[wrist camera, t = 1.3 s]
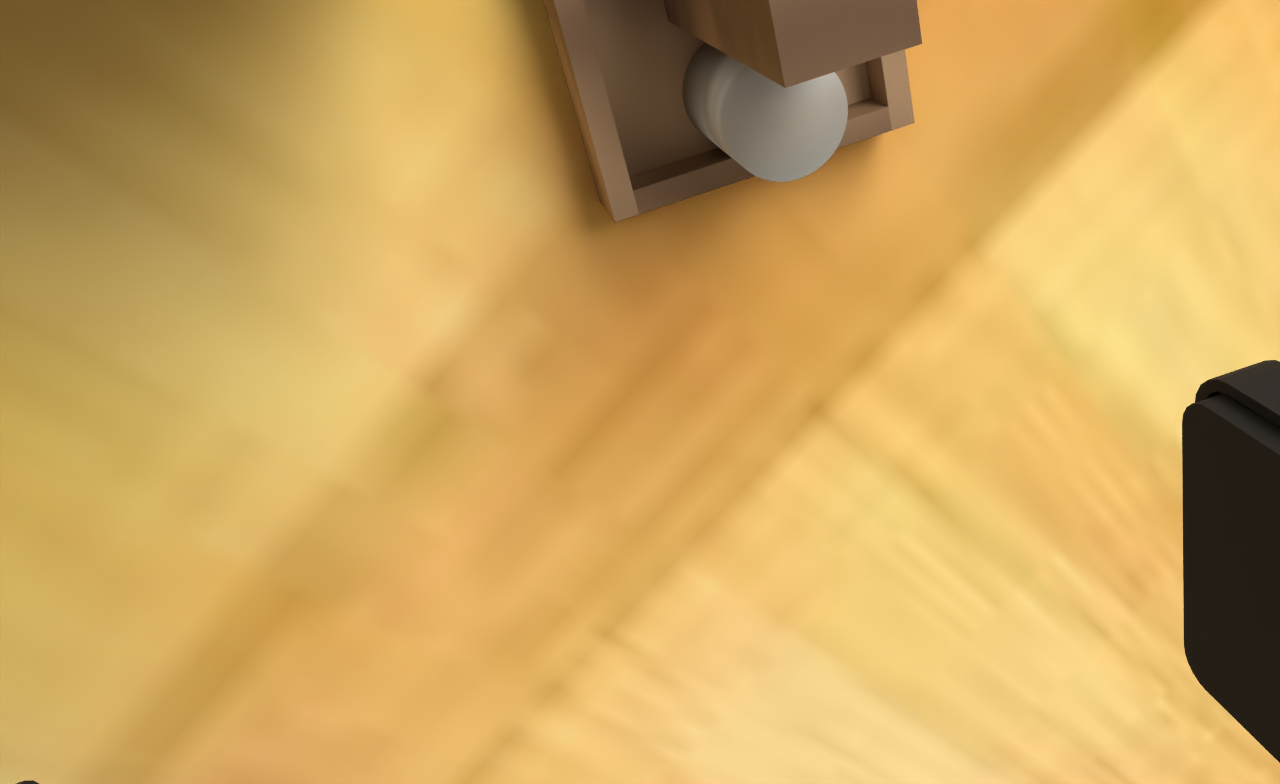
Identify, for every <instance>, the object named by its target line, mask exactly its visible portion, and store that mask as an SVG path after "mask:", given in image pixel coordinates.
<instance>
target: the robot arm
mask: <svg viewBox="0 0 1280 784" xmlns="http://www.w3.org/2000/svg"><path fill="white" fill-rule="evenodd" d="M1182 454H1183V580H1184V648H1185V654H1186V657H1187V660H1188V663H1189V665H1190V667H1191V670H1192V672H1193V673H1194V675H1195V677H1196V678H1197V680H1198V681H1199V683H1200V684H1201V685H1202V686H1203V687H1204V688H1205V690H1206V691H1207V692H1208V693H1209V694H1210V695H1211V696H1212V697H1213V698H1214V699H1215V700H1216V701H1217V702H1219V703H1220V704H1221V705H1222V706H1223V707H1224V708H1225V709H1226V710H1227V711H1228V712H1229V713H1230V714H1231V715H1232V716H1233V717H1234V718H1235V719H1236V720H1237V721H1238V722H1239V723H1240V724H1241V725H1242V726H1243V727H1244V728H1245V729H1246V730H1247V731H1248V732H1249V733H1250V734H1251V735H1252V736H1253V737H1254V738H1255V739H1256V740H1257V741H1258V742H1259V743H1260V744H1261V745H1262V746H1263V747H1264V748H1265V749H1266V750H1267V751H1268V752H1269V753H1270V754H1271V755H1272V756H1273V757H1274V758H1276V759H1277V760H1278V761H1279V762H1280V362H1279V361H1276V360H1269V361H1263V362H1260V363H1257V364H1254V365H1251V366H1248V367H1245V368H1242V369H1239V370H1236V371H1233V372H1230V373H1227V374H1224V375H1221V376H1218V377H1216V378H1213V379H1210V380H1207V381H1206V382H1204V383H1203V384H1201V385H1200V387H1199V389H1198V391H1197V393H1196V399H1195V403H1193V404H1191V405H1190V406H1188V407H1187V408H1186V410H1185V412H1184V414H1183V421H1182ZM17 784H39V783H37V782H35V781H22V782H20V783H17Z"/></svg>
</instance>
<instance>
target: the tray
mask: <svg viewBox="0 0 1280 784" xmlns="http://www.w3.org/2000/svg"><path fill="white" fill-rule="evenodd" d="M544 4H545V7H546V11H547V14H548V18H549V21H550V25H551V28H552V32H553V36H554V39H555V43H556V46H557V50H558V53H559V57H560V60H561V64H562V68H563V71H564V75H565V78H566V82H567V85H568V89H569V92H570V96H571V99H572V103H573V107H574V110H575V114H576V117H577V121H578V124H579V128H580V131H581V135H582V139H583V142H584V146H585V149H586V153H587V156H588V160H589V163H590V167H591V170H592V174H593V178H594V181H595V185H596V188H597V192H598V195H599V199H600V202H601V203H602V205H603V206H604V208H605V209H606V210H607V212H608V213H609V214H610V216H611V217H612V218H613V220H614V221H615V222H618V221H621V220H624V219H627V218H630V217H633V216H636V215H639V214H642V213H645V212H648V211H651V210H654V209H657V208H660V207H663V206H666V205H669V204H672V203H675V202H678V201H681V200H684V199H687V198H690V197H693V196H696V195H699V194H702V193H705V192H708V191H711V190H714V189H717V188H720V187H723V186H726V185H729V184H732V183H735V182H738V181H741V180H744V179H747V178H750V177H753V176H757V177H759V178H761V179H765V180H768V181H774V182H786V181H793V180H797V179H800V178H802V177H805V176H807V175H809V174H811V173H813V172H814V171H816V170H817V169H818V168H820V167H821V166H822V165H823V164H824V163H825V162H827V160H828V159H829V158H830V157H831V156H832V155H833V153H834V152H835V150H836V149H837V148H840V147H843V146H846V145H849V144H852V143H855V142H858V141H861V140H865V139H868V138H871V137H874V136H877V135H880V134H883V133H886V132H889V131H892V130H895V129H898V128H901V127H904V126H907V125H910V124H913V123H915V122H914V115H913V108H912V100H911V93H910V85H909V78H908V71H907V63H906V56H905V49H907V48H910V47H913V46H916V45H919V44H922V40H921V32H920V24H919V16H918V8H917V0H544Z"/></svg>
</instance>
